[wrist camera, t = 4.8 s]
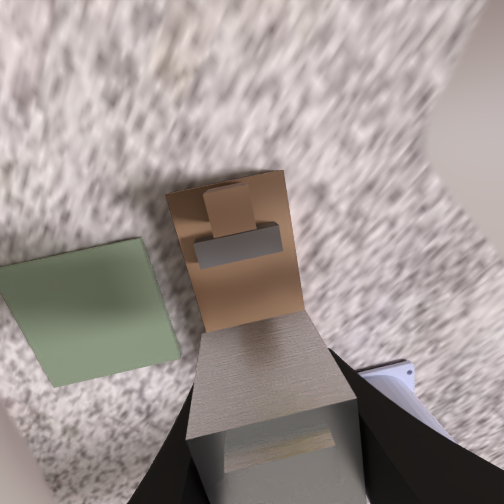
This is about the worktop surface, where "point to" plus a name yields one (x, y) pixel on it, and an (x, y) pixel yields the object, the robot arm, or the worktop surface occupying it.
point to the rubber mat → (91, 311)
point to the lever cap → (274, 417)
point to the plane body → (239, 249)
